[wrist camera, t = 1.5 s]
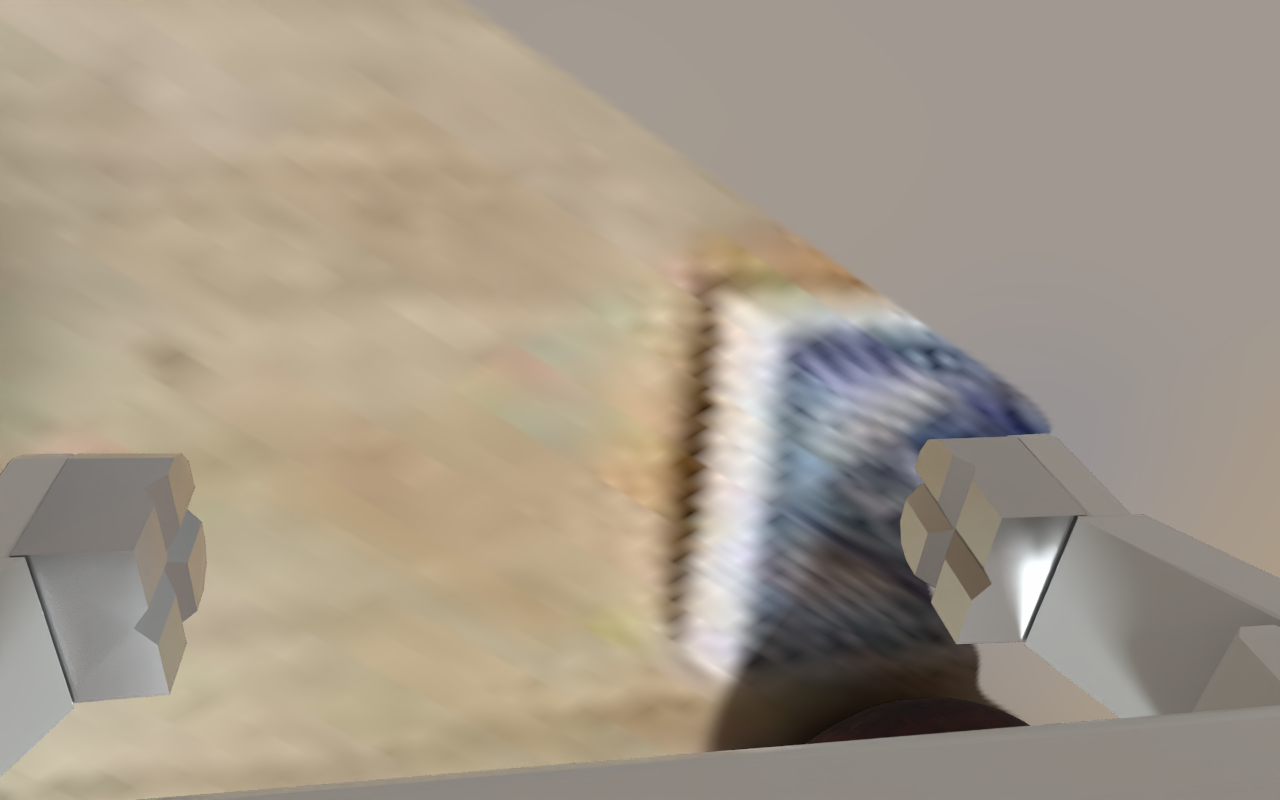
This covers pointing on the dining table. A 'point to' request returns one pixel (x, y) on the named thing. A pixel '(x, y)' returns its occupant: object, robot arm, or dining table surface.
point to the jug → (917, 720)
